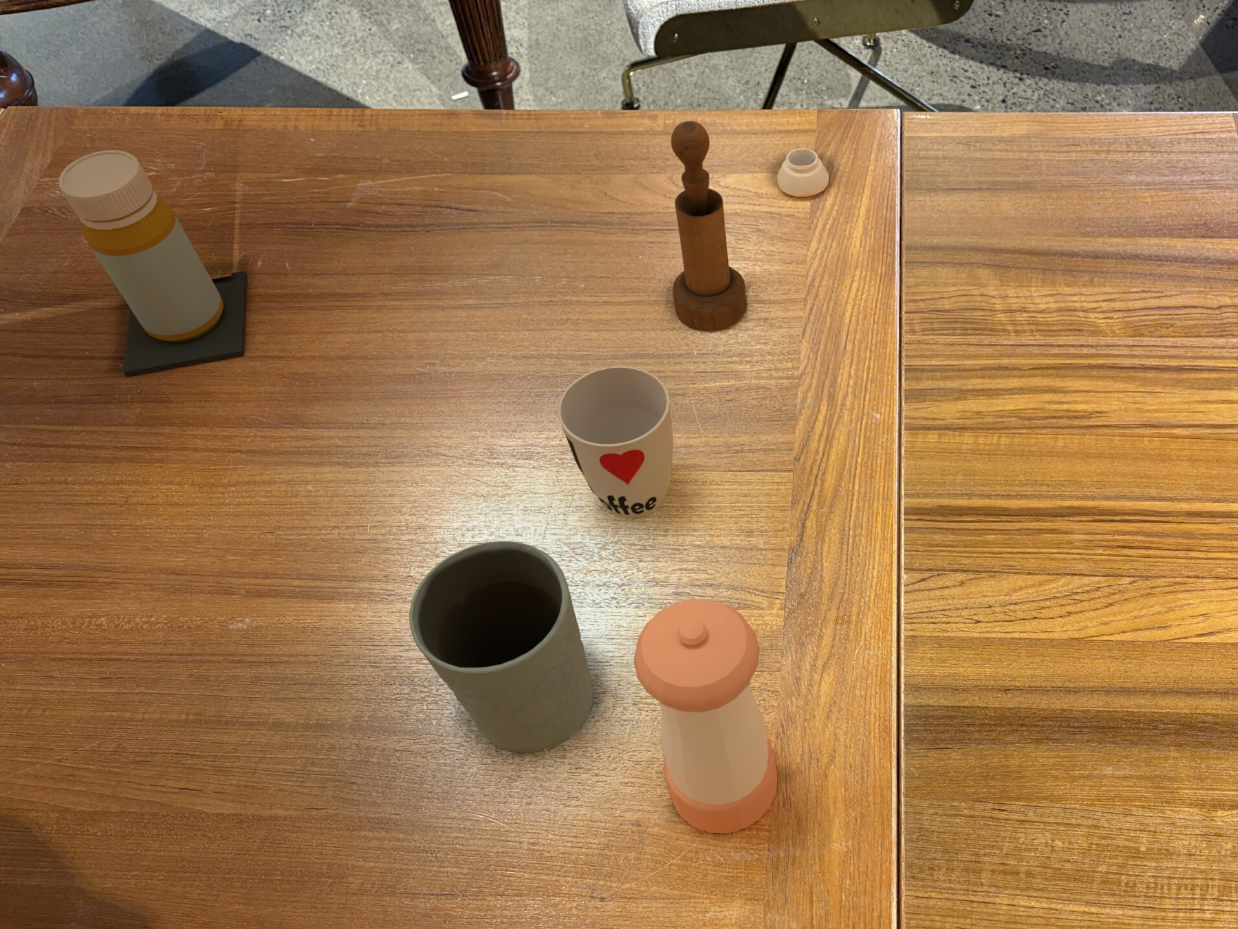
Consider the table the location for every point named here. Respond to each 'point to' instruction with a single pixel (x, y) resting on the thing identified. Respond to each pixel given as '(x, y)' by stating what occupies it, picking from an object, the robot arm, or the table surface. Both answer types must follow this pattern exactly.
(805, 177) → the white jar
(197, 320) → the bottle
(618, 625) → the table surface
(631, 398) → the cup
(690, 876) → the table surface
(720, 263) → the mortar and pestle
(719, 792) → the pepper shaker
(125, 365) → the mat
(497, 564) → the grey cylindrical pot
